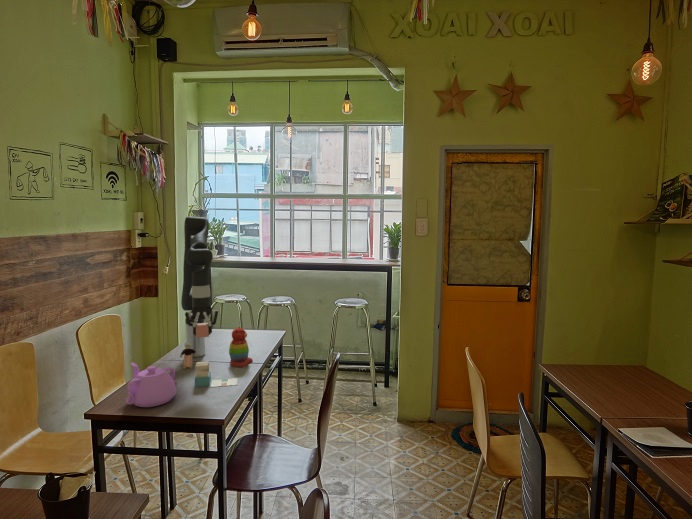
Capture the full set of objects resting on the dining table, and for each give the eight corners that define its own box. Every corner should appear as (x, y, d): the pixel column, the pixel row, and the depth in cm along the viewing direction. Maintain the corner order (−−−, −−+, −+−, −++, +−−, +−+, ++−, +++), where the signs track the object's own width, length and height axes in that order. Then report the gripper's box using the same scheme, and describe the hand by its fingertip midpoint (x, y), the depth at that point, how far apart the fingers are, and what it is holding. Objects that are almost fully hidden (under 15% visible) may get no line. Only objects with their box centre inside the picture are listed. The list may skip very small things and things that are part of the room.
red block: (197, 334, 193) (197, 323, 192) (209, 333, 194) (209, 322, 193) (196, 337, 188) (195, 326, 187) (208, 336, 189) (208, 325, 188)
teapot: (156, 385, 191) (154, 354, 190) (190, 395, 180) (189, 362, 178) (106, 404, 172) (104, 369, 171) (141, 416, 161) (139, 379, 160)
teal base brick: (196, 381, 195) (196, 373, 194) (210, 380, 196) (210, 371, 196) (195, 386, 189) (194, 377, 189) (209, 385, 190) (209, 376, 190)
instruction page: (212, 380, 196) (212, 380, 196) (237, 378, 198) (237, 378, 198) (210, 387, 188) (210, 386, 188) (237, 385, 191) (237, 384, 191)
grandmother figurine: (181, 369, 211) (179, 343, 209) (179, 367, 214) (178, 341, 213) (197, 367, 214) (196, 341, 213) (196, 364, 217) (195, 339, 216)
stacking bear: (244, 367, 213) (243, 331, 211) (225, 366, 215) (224, 330, 213) (254, 360, 223) (253, 326, 222) (235, 359, 225) (234, 325, 224)
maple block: (197, 373, 194) (197, 362, 194) (209, 372, 195) (208, 361, 195) (195, 377, 189) (195, 365, 189) (208, 376, 190) (207, 365, 190)
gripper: (219, 293, 194) (220, 331, 196) (184, 295, 191) (186, 333, 193) (218, 296, 187) (219, 335, 189) (182, 297, 184) (184, 338, 186)
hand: (202, 334), depth 191 cm, fingers closed on red block, 5 cm apart
